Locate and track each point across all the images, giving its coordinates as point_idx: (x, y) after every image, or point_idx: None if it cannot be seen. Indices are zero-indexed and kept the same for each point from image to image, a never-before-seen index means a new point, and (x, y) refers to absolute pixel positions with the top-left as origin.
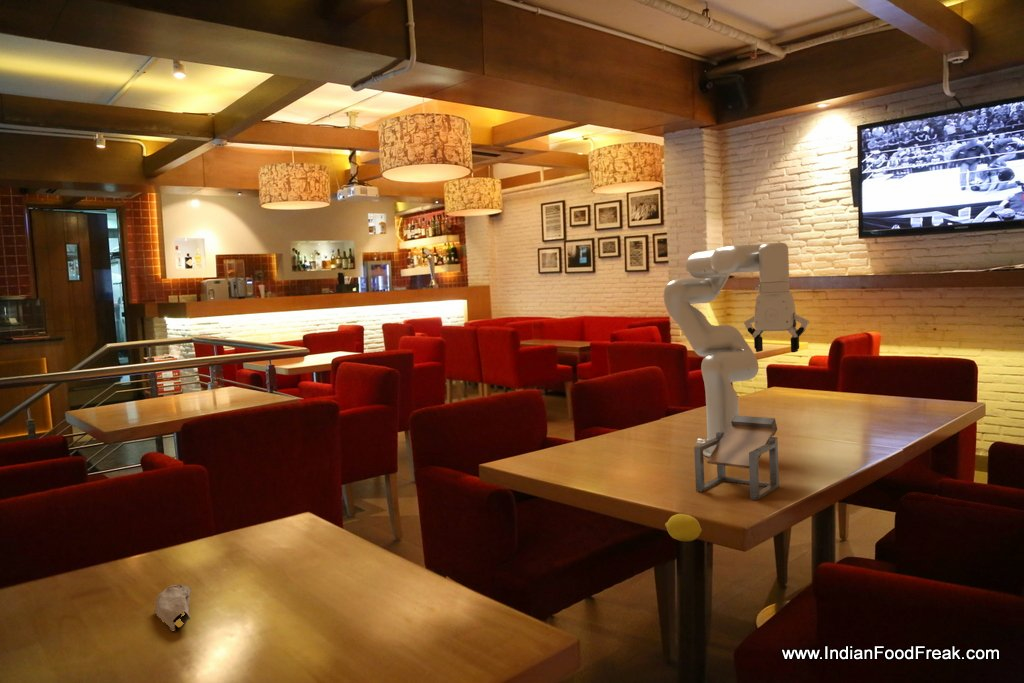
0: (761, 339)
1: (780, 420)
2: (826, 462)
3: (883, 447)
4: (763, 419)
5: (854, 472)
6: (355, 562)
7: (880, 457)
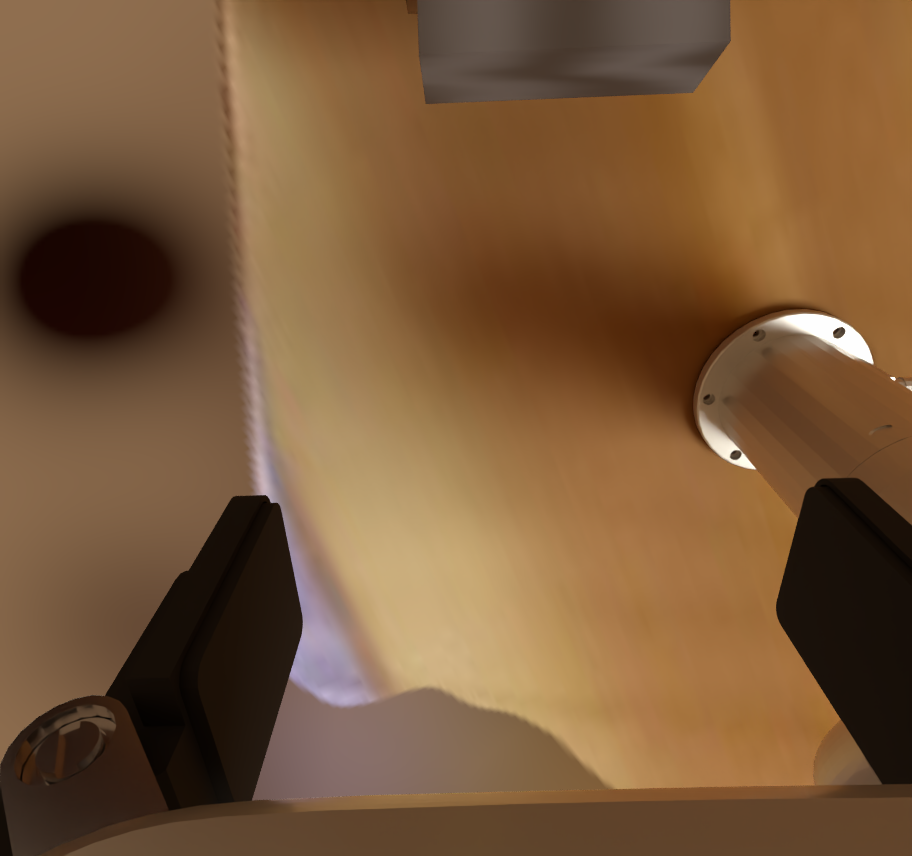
0: (887, 745)
1: None
2: (391, 448)
3: (326, 681)
4: (494, 24)
5: (252, 362)
6: None
7: None
